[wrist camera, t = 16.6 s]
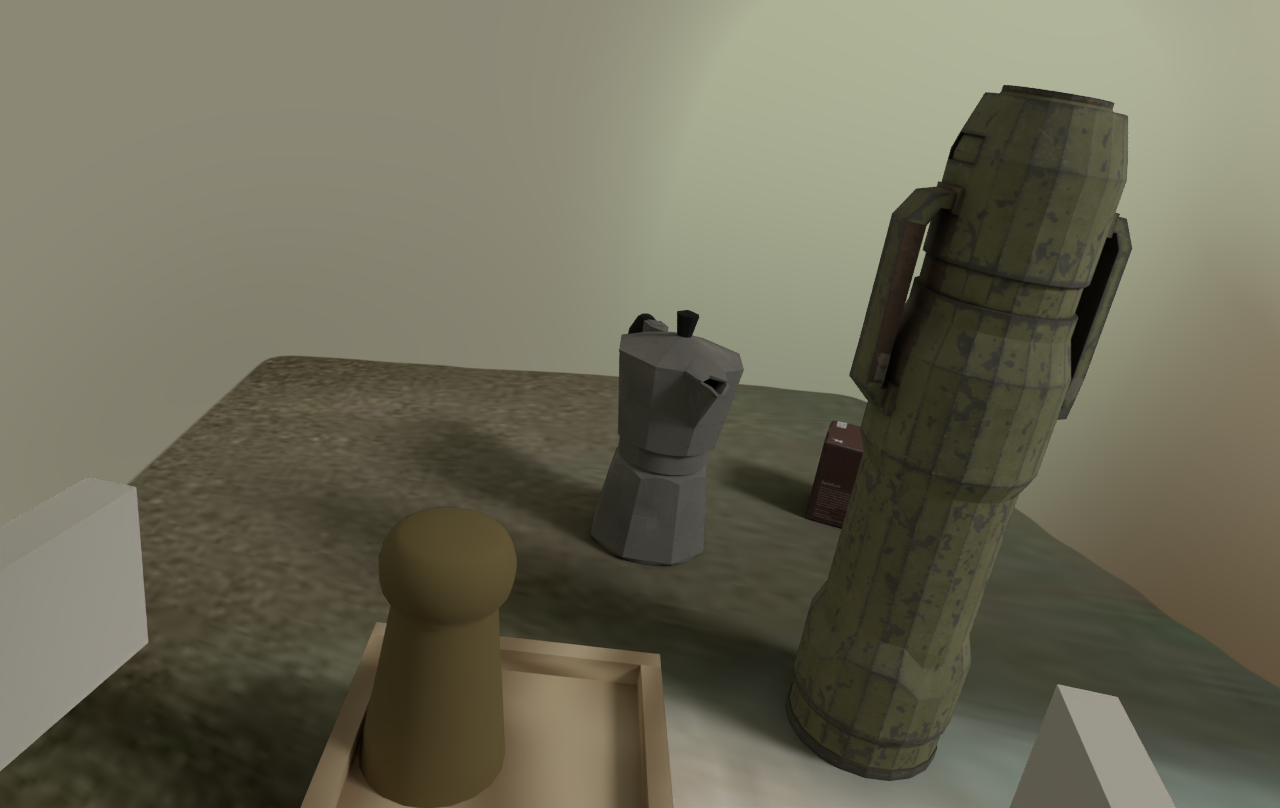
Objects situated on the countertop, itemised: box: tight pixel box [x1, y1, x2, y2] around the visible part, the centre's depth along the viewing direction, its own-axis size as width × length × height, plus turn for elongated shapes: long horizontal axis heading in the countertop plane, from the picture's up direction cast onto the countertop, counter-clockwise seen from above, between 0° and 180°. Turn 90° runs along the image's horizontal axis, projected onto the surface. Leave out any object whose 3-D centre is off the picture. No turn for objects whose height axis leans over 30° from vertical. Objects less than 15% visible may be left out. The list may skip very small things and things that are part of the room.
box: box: [806, 421, 864, 528], centre depth 76 cm, size 6×6×7 cm
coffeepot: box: [591, 310, 744, 566], centre depth 66 cm, size 15×9×18 cm, turn 21°
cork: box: [359, 507, 517, 808], centre depth 35 cm, size 6×6×11 cm
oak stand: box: [301, 622, 673, 808], centre depth 38 cm, size 14×14×6 cm
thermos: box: [786, 85, 1132, 781], centre depth 45 cm, size 9×12×35 cm
